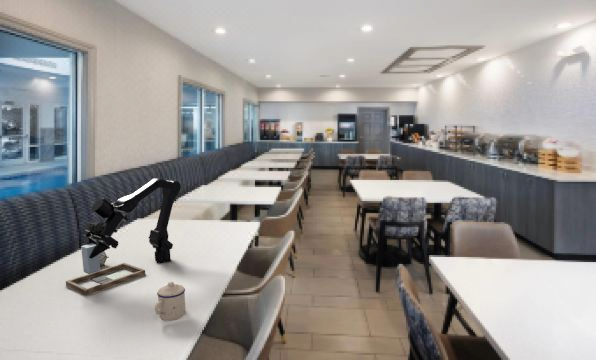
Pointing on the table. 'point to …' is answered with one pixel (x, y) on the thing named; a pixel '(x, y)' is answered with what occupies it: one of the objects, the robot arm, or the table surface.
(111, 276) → the pad
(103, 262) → the game die
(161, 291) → the teacup with lid
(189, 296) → the table surface
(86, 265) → the slate-blue block
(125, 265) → the frame
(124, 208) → the robot arm
